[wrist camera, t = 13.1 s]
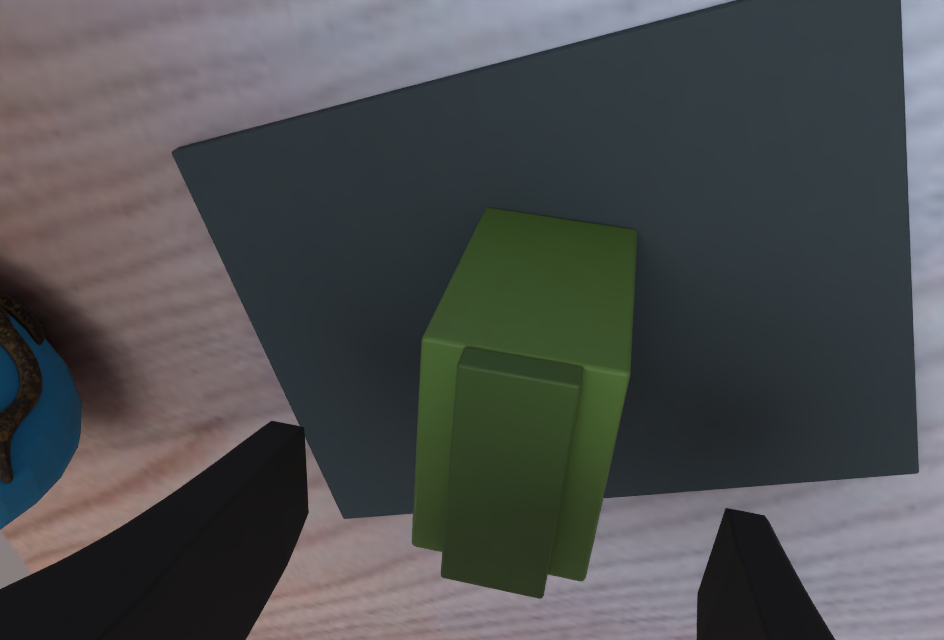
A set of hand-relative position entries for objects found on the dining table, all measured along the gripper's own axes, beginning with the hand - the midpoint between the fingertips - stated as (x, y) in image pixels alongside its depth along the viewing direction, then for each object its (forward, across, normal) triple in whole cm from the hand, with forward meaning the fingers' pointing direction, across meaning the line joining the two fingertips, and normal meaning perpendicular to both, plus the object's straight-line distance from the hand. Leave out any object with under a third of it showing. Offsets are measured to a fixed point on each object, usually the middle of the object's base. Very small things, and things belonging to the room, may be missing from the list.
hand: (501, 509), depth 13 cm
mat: (+7, 0, 0) cm, 7 cm away
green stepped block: (+7, 0, 0) cm, 7 cm away
